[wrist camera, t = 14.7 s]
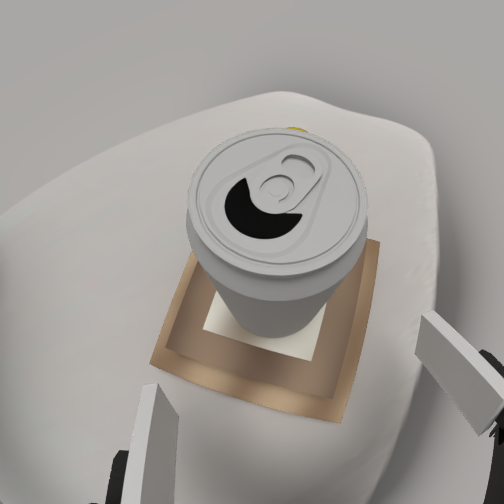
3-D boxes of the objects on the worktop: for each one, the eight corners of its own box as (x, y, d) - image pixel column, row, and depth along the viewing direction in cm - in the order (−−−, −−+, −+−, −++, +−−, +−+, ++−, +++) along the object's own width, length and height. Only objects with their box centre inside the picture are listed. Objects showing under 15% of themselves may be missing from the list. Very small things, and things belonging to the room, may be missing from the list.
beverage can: (209, 299, 19) (135, 204, 8) (267, 234, 21) (262, 100, 10) (281, 358, 17) (300, 340, 6) (337, 285, 19) (408, 178, 8)
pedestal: (160, 364, 23) (131, 361, 18) (218, 213, 29) (207, 179, 24) (333, 418, 20) (351, 431, 15) (371, 253, 26) (392, 225, 21)
